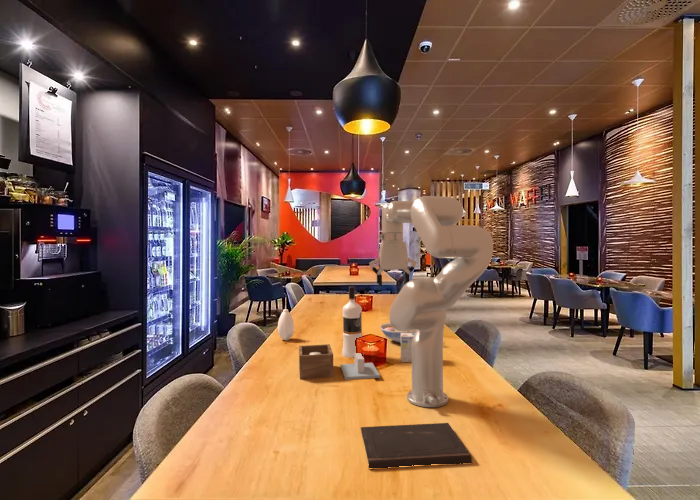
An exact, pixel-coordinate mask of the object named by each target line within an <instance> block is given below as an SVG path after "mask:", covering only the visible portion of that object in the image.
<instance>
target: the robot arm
mask: <svg viewBox="0 0 700 500" xmlns="http://www.w3.org/2000/svg"><path fill="white" fill-rule="evenodd" d="M463 216H464V206H463V205H462V204H461V202H460V201H459V200H458V199H456V198H455V197H451V196H440V195H439V196H438V195H437V196H436V195H435V196H434V195H423V196H419V197H418V198H416V199H415V200H392V201H390V202H389V203H386V204H383V205H382V207H381V226H382V227H381V228H382V229H381V234H378V236H377V238H378V240H381V241H380V243H379V248H378V250H379V252H378V257H376V258H375V259H373V260H372V261H370V262H368V264H369V266H370V268H371V271H373V272H374V273H375V275H376V284H378V286H379V287H382V286H383V276H382V273H383V271H386V270H387V271H388V270H389V271H390V270H391V271H393V270H403V272H404V273H403V284H404V285H403V287H401V289H400V291H399V292H398V294H397V295H396V297H395V299H394V300H393V301H392V303H391V305H390V308H389V312H388V313H389V314H388V320H389V323H391V325H392V327H393V328H394V329H396V330H398V331H412V330H417V331H416V332H415V334H414V337H413V340H412V362H411V390H410V391H408V392H407V393H406V399H407V401H408V402H410V403H411V405H416V406H418V407H422V408H423V407H424V408H438V407H442V406H446V405H447V404H448V403H449V395H448V394H447V393H445V392H444V329H445V324H446V319H447V310H449V309H451V308H452V307H453V306H454V305H455V304H456V303H457V302H458V300H459V299H460V298H461V297H462V296H463V295H464V294H465V292H466V291H467V290H468V289H469V287H471V286H472V284H473V283H474V282H476V281H477V280H478V279H479V278H480V277H481V276H482V275H483V273H484V272H485V271H486V270H487V268H488V266H489V265H490V263H491V261H492V257H493V254H494V253H493V252H494V241H493V238H492V235H491V233H490V232H489V231H488V230H486V229H485V228H483V227H481V226H478V225H470V224H469V225H468V224H467V225H466V224H465V225H464V224H458V223H459V222H460V221H461V220H462V218H463ZM404 224H413V226H414V228H415V231H416V232H417V234H418V236H419V239H420V240H421V242H422V244H423V246H424V248H425V251H427V253H428V254H429V255H430V256H432V257H433V258H436V259H451V258H452V259H453V258H455V259H453V260H452V261H450V262H448V263H447V264H446V265H444V267H443V268H441V271H440V272H439V273H438V274H437V275H435V276H434V277H431V278H430V277H429V278H418V279H412V280H410V274H411V273H412V272H413V270H414V269H415V267H416V265H417V261H415V260H413V259H411V258H409V257H408V248H407V242H406V241H404ZM377 263H378V268H376V266H375V264H377ZM409 263H410V266H409Z"/></svg>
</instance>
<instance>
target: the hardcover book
mask: <svg viewBox="0 0 700 500" xmlns="http://www.w3.org/2000/svg"><path fill="white" fill-rule="evenodd" d="M360 432H361V438H362V442H363V446H365V447H364V451H365V454H366V455H367V456H366V455H365V456H366V460H367V463H368V464H369V465H368V469H369V468H387V469H389V468H388V467H399V466H412V465H413V466H414V465H431V464H456V465H464V464H463V463H473V461H472V460H473V459H472V458H473V457H472V454H471V453H470V451H469V450H468V448H467V447H466V446H465V445H464V443H463V442H462V440H461V439H460V437H459V436H458V434H457V433H456V432H455V431H454V429H453V428H452V426H451V425H450V424H449V422H439V423H438V422H437V423H419V424H400V425H399V424H398V425H397V424H395V425H378V426H376V425H375V426H361V427H360ZM460 463H461V464H460Z"/></svg>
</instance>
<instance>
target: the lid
mask: <svg viewBox="0 0 700 500" xmlns="http://www.w3.org/2000/svg"><path fill="white" fill-rule="evenodd" d="M353 358H354V363H345V364H344V363H341V364H339V366H340V369H341V372H342V375H343V378H344V380H345V381H347V380H348V381H349V380H363V379H380V378H381V374H380V373H379V371H378V369H377V368H376V367H375V365H374V363H373V362H365V358H364V355H363V356H362V354H361V353H354V357H353Z"/></svg>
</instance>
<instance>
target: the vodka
mask: <svg viewBox="0 0 700 500" xmlns="http://www.w3.org/2000/svg"><path fill="white" fill-rule="evenodd" d="M362 310H363V309H362V306H361V305H360V304H359V303H358V302H356V287H355V286H348V302H347V303H345V304H344V306H342V319H343V320H342V321H343V322H342V325H343V326H342V328H343V329H342V330H343V331H342V335H343V336H342V338H343V339H342V341H343V343H342V350H341V355H342V356H343V357H345V358H354V353H356V346H355V340H356V338H359V337H362V338H363V332H362V331H363V328H362V327H363V325H362V321H363V320H362V317H363V316H362V314H363V313H362Z"/></svg>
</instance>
